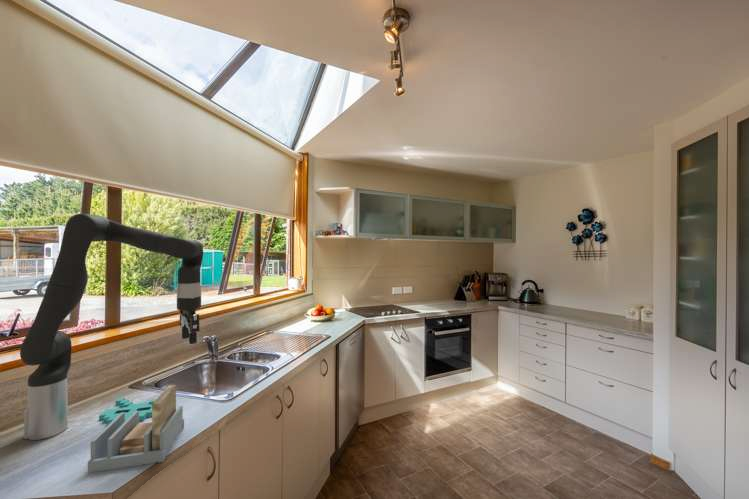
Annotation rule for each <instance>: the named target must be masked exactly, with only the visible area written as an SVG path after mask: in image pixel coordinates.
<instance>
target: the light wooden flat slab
mask: <svg viewBox="0 0 749 499" xmlns="http://www.w3.org/2000/svg"><path fill="white" fill-rule="evenodd" d="M155 399H156V400H155V401H154V403H153V404H152V417H151V419H152V420H151V422H152V451H156V450H160V432H161V430H162V429H163V428H164V426H165V425H166V424H167V422H168V421H169V419H170V418H171V417H172V415H173V414H174V413H175V411H176V410H177V384H169V385H168V386H167V387H166V388H165V389H164V391H163V392H161V394H160V395H159V396H158V397H157V398H155Z"/></svg>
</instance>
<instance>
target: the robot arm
mask: <svg viewBox="0 0 749 499" xmlns="http://www.w3.org/2000/svg"><path fill="white" fill-rule="evenodd" d="M63 230H64V231H63V234H62V238H61V239H62V240H61V245H60V249H59V251H58V256H57V258H56V261H55V264H54V267H53V269H52V272H51V275H50V278H49V280H48V283H47V285H46V288H45V290H44V294H43V298H42V300H41V303H40V305H39V308H38V310H37V312H36V315H35V317H34V319H33V322H32V324H31V327H30V328H29V330H28V332H27V334H26V335H25V338H24V339H23V341H22V343H21V347H20V350H19V355H20V359H21V361H22V362H23V364H25V365H27V366H37V368H36V369H34V371H33V372H32V373H30V374H29V375H28V376H27V377H28V378H27V408H25V409H24V411H23V439H24V440H31V441H39V440H44V439H48V438H52V437H54V436H57V435H59V434H61V433H63V432H64V431H66V430H67V428H68V423H69V420H68V418H69V417H68V413H69V412H68V411H69V410H68V408H69V407H68V404H69V403H68V400H69V399H68V398H69V397H68V373H69V371H70V369H71V364H72V350H73V348H72V347H73V345H72V340H71V337H70V336H69V334H68V333H66V332H65V331H63V330H59V328H60V327H61V326H62V323H63V322H64V320H66V318H68V316H69V315H70V314H71V312H72V311H73V310H75V308H76V307H77V306H78V305H79V303H80V302H81V301H82V299H83V296H84V294H85V290H86V287H87V285H88V281H89V276H88V269H87V266H86V265H87V264H86V258H87V254H88V251H89V250H90V246H91V244H92V243H93V242H96V243H97V242H111V243H112V242H113V243H121V244H125V245H128V246H132V247H134V248H137V249H140V250H142V251H143V250H144V251H147V252H152V253H157V254H163V255H166V256H170V257H173V258H177V259H181V262H182V263H181V266H180V267H179V268H178V270H177V286H176V309H177V310H178V311H179V324H178V325H179V326H180V328H181V338H182V339H183V340H185V339H188V343H189V345H193V344H197V340H198V336H197V335H198V333H199V332H200V330H201V329H200V314H199V313H196V311H197V310H199V309H200V308H202V285H201V269H202V268H201V267H202V264H203V259H204V258H203V257H204V248H203V245H202V243H201V242H200V241H198V240H197V239H187V238H182V237H181V238H180V237H176V236H172V235H171V234H167V233H162V232H158V231H154V230H153V231H152V230H148V229H144V228H143V229H142V228H138V227H133V226H128V225H125V224H121V223H120V222H116V221H113V220H111V219H109V218H106V217H103V216H102V215H99V214H98V215H97V214H91V213H76V214H74V215H72V216H71V217H70V218H69V219H68V220H67V222H66V224H65V227H64V229H63Z"/></svg>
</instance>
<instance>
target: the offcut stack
mask: <svg viewBox="0 0 749 499" xmlns="http://www.w3.org/2000/svg"><path fill="white" fill-rule="evenodd" d="M151 425H152V421H151V422H144V423H139V424H137V426H136V427H135V428H134V429H133V430H132V431H131V432H130V433H129V434H128V435H127V436H126V437H125V438H124V439H123V447H122V448H121V449H120V455H127V454H134V453H141V452H144V434H145V433H146V432H147V430H148V429H149V428H150V427H151Z"/></svg>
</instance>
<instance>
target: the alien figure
mask: <svg viewBox="0 0 749 499" xmlns="http://www.w3.org/2000/svg"><path fill="white" fill-rule="evenodd" d="M156 399H157V398H152V399H151V400H150V401H147V402H138V403H133V401H130V400H129V399H126V398H125V397H120V398H117V399H115V403H114V404H115V406H118V407H116V408H107V409H104V411H103V412H101V413H100V414H99V415H98V421H102V423H104V424H105V423H106V425H107V426H108V425H109V424H110V423H111V422H112V421H113V420H114V419H115V418H116V417H117V416H118V415H119V414H120V413H121V412H125V421H126V420H127V419H128V418H129V417H130V416H131V415H132V414H133V413H134V412H135V411H139V422H144V421H145V420H146V419H147V418H152V404H153V403H154V401H155V400H156Z"/></svg>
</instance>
